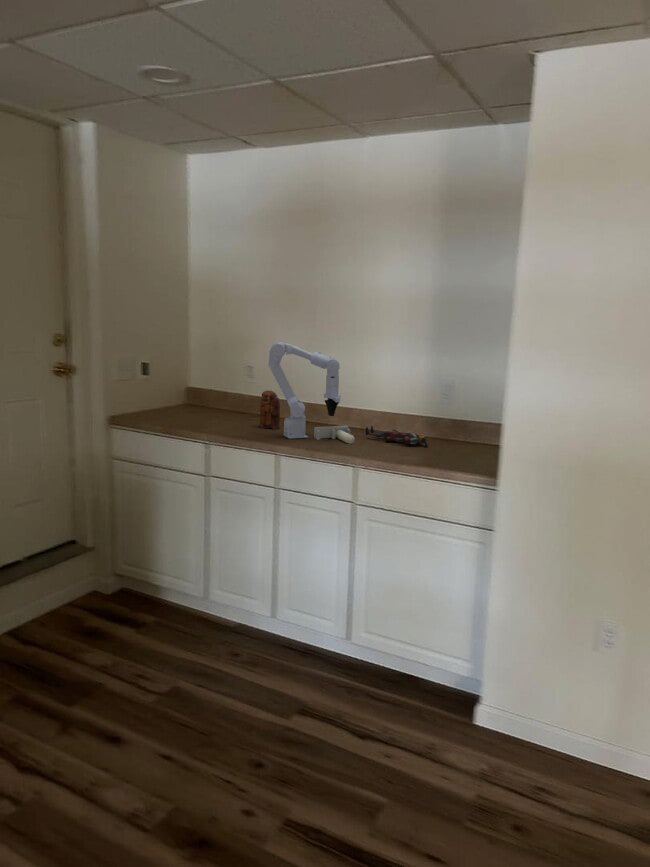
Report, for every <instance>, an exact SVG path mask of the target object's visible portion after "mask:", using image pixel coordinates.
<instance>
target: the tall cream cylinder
mask: <svg viewBox="0 0 650 867" xmlns="http://www.w3.org/2000/svg"><path fill="white" fill-rule="evenodd" d="M335 438H337V439H338V440H340V441H342V442H344V443H346V444H348V445H349V444H354V442H355V440H356V438H355V437H354V435H353V434H351V433H350V434H348V433H346V432H344V431H342V430H338V431H337V432H336V437H335Z"/></svg>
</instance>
